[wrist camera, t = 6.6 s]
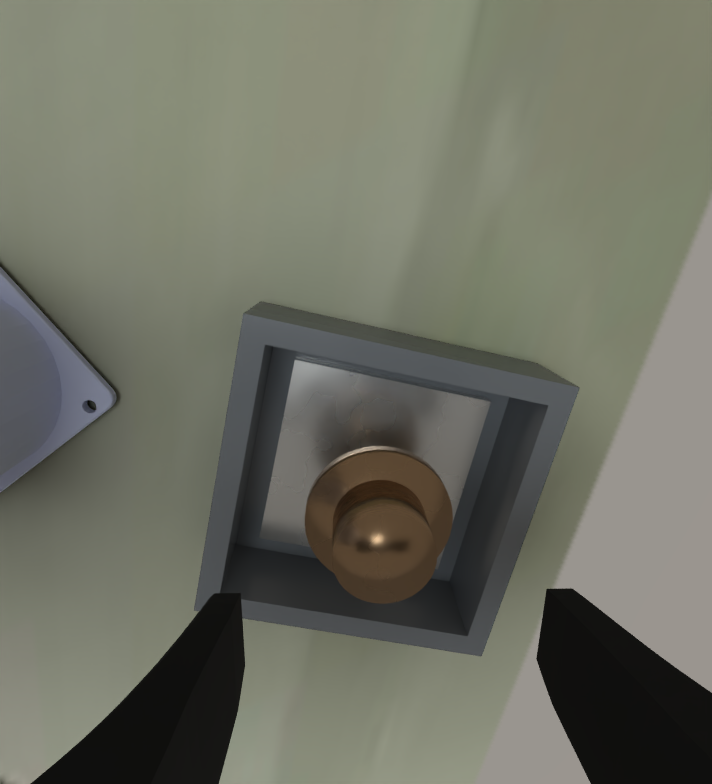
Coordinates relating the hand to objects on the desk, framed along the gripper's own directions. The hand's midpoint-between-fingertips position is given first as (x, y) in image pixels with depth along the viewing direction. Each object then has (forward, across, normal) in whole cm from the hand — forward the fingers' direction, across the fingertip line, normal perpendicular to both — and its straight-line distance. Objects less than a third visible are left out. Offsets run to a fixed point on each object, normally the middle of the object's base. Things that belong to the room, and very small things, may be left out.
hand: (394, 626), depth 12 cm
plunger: (+9, 0, 0) cm, 9 cm away
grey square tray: (+9, 0, 0) cm, 9 cm away
